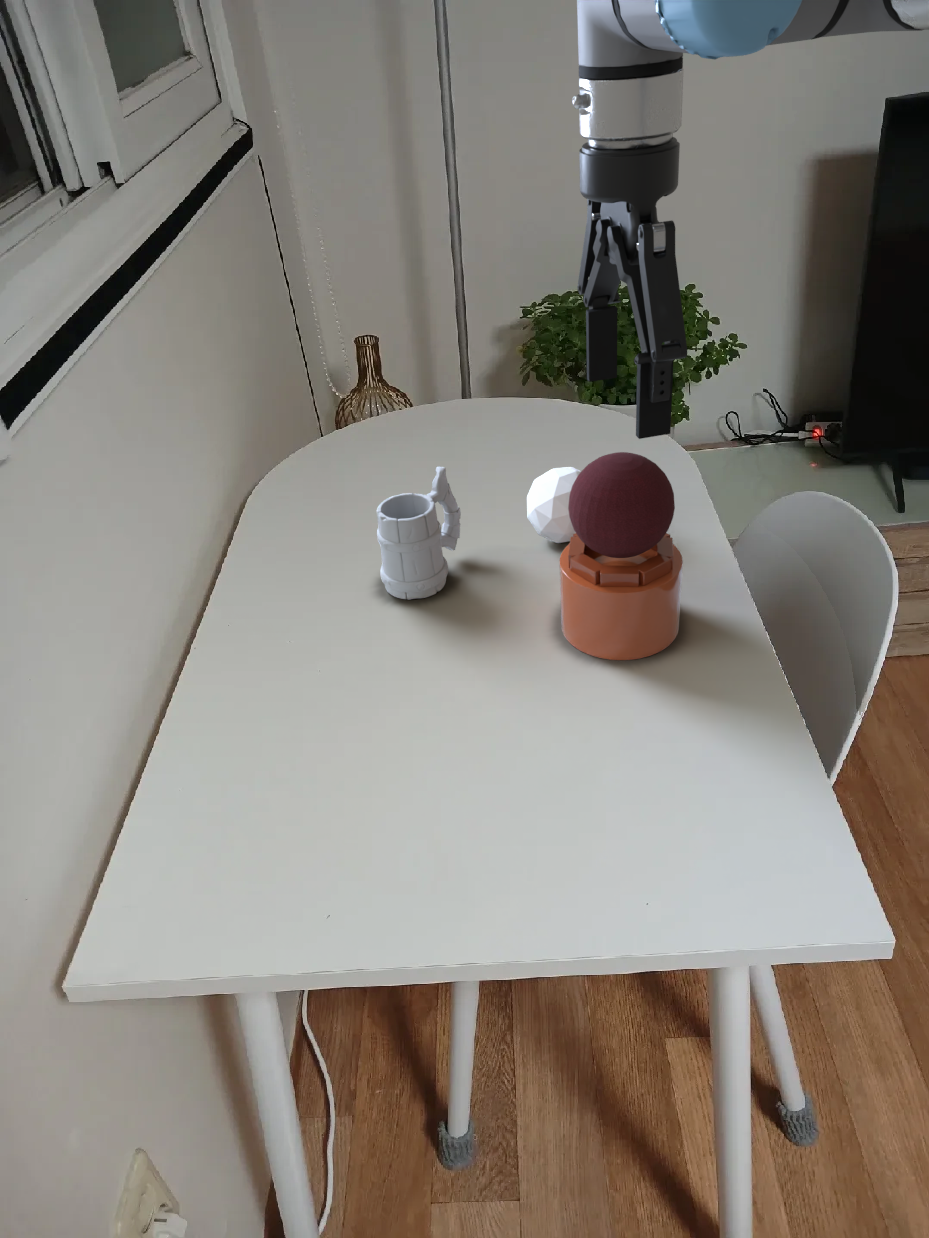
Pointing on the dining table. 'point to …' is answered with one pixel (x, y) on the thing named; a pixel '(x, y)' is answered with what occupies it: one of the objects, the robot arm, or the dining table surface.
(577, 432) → the dining table surface
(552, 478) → the perfume bottle
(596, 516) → the decorative ball
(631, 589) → the pedestal
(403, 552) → the mug
